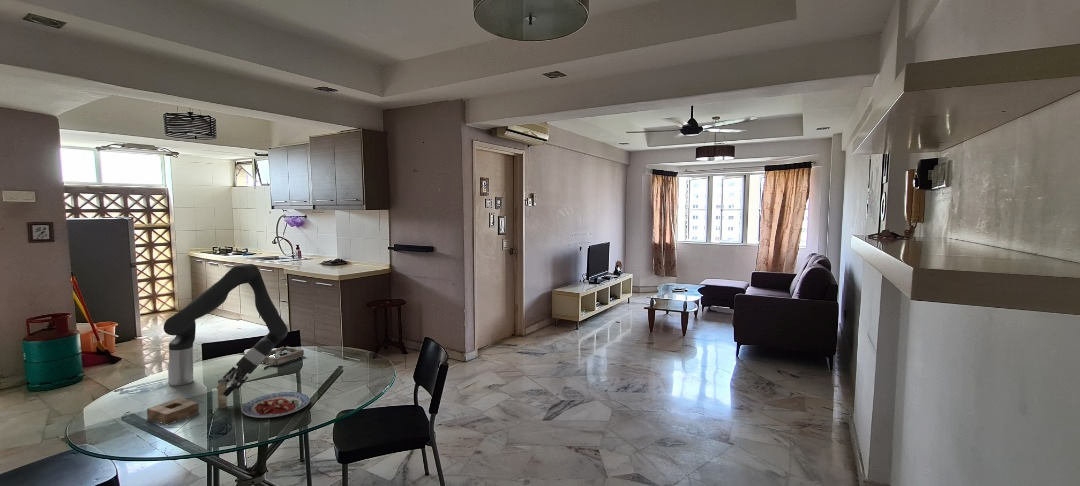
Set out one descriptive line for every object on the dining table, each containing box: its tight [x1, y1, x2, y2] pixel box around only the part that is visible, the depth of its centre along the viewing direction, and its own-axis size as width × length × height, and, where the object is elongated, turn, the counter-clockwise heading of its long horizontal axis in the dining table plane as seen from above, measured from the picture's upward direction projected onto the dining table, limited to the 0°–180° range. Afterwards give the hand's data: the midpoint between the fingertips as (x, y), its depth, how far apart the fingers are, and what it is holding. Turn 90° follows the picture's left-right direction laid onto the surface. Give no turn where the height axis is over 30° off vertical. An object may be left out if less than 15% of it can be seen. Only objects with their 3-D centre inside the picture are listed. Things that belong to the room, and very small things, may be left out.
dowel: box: [217, 377, 228, 409], centre depth 199 cm, size 3×3×12 cm
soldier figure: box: [274, 350, 282, 358], centre depth 260 cm, size 8×5×12 cm
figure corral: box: [262, 346, 305, 367], centre depth 261 cm, size 14×18×4 cm
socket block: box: [146, 397, 200, 425], centre depth 189 cm, size 12×12×4 cm
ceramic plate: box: [241, 391, 311, 419], centre depth 201 cm, size 26×26×3 cm
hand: (221, 392), depth 199 cm, fingers open, 8 cm apart
